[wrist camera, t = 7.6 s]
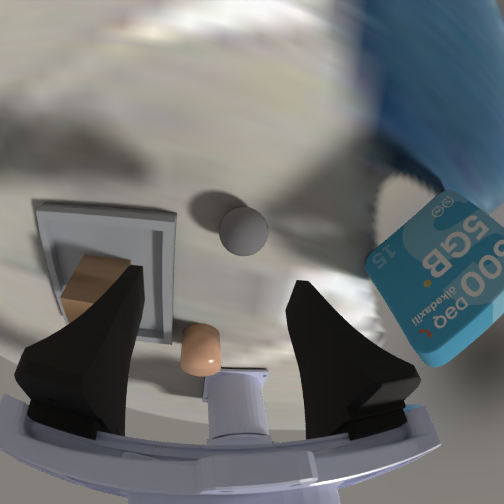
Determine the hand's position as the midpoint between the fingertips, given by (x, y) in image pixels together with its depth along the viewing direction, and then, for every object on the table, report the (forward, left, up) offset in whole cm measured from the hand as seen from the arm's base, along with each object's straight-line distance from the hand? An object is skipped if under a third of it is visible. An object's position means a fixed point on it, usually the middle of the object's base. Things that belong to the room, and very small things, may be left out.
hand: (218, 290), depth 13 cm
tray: (-8, +9, -9) cm, 15 cm away
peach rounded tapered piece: (-15, 0, -10) cm, 18 cm away
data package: (0, -19, -10) cm, 21 cm away
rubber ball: (-1, -2, -9) cm, 10 cm away
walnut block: (-8, +9, -9) cm, 15 cm away
